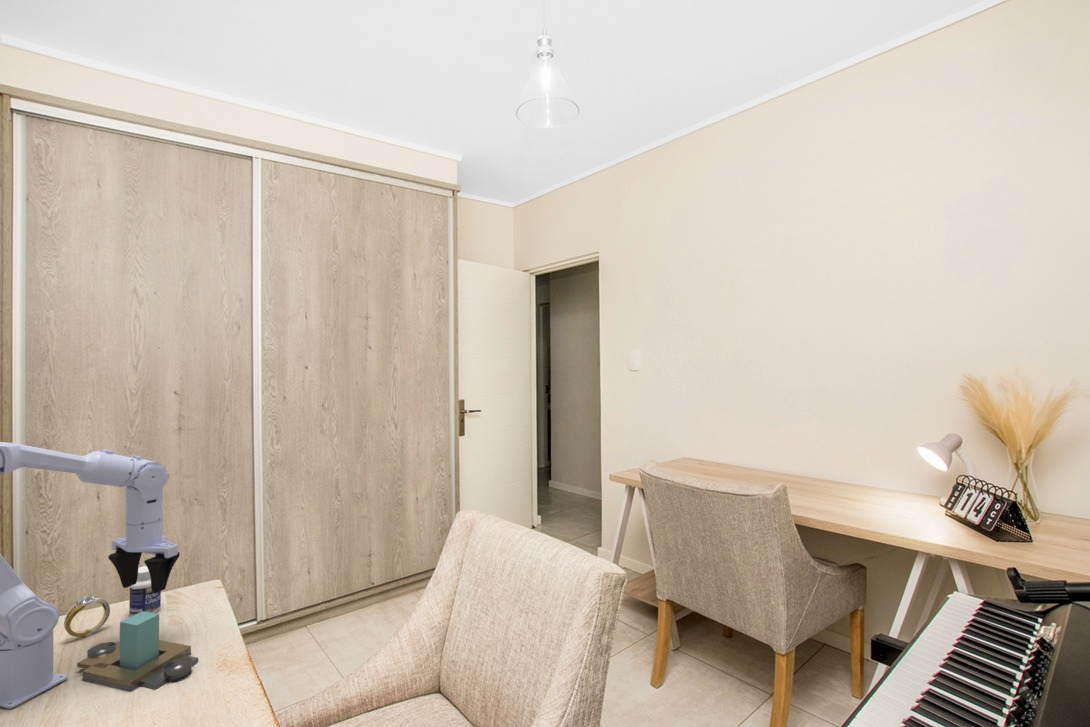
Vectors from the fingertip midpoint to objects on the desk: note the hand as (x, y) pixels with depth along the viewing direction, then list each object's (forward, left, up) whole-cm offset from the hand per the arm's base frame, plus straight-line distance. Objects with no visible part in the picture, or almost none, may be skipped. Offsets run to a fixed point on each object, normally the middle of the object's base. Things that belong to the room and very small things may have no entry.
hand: (144, 588), depth 100 cm
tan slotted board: (+5, -7, -10) cm, 13 cm away
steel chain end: (+10, -7, -10) cm, 16 cm away
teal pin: (+8, -7, -10) cm, 15 cm away
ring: (-12, -2, -11) cm, 16 cm away
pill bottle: (-10, +8, -11) cm, 17 cm away
